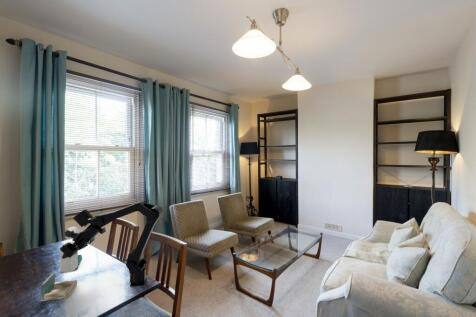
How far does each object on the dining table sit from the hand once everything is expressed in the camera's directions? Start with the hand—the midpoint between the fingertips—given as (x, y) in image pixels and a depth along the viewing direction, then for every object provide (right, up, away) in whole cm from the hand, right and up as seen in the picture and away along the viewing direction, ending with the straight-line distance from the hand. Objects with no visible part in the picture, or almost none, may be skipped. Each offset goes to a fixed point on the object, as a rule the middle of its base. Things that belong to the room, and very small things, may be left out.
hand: (66, 255), depth 114 cm
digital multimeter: (-10, -13, +19) cm, 25 cm away
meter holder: (+3, -14, -7) cm, 16 cm away
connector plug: (+1, -7, 0) cm, 7 cm away
